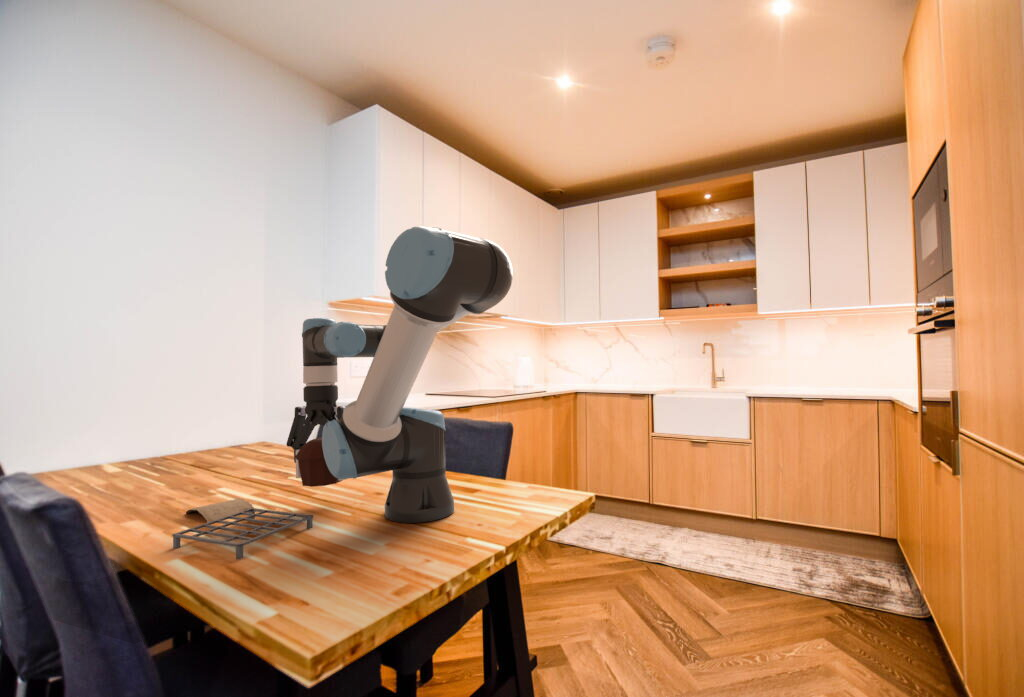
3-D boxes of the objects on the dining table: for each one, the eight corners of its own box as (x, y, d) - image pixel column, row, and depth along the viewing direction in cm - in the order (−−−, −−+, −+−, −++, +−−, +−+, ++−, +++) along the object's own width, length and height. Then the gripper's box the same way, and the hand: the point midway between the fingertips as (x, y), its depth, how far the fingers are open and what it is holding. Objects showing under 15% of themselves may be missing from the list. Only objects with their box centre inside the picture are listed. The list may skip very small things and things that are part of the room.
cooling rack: (313, 527, 99) (313, 515, 99) (239, 559, 83) (239, 545, 83) (252, 519, 105) (252, 508, 105) (172, 548, 89) (172, 534, 89)
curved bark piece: (258, 515, 110) (258, 503, 110) (209, 527, 102) (209, 514, 102) (229, 505, 119) (229, 494, 119) (182, 516, 111) (182, 504, 111)
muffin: (288, 483, 113) (287, 439, 113) (334, 474, 120) (333, 434, 121) (308, 490, 104) (307, 443, 105) (356, 481, 112) (355, 437, 112)
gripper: (373, 382, 112) (375, 477, 111) (294, 385, 121) (295, 472, 120) (351, 384, 106) (353, 484, 104) (269, 386, 114) (270, 479, 113)
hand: (322, 478), depth 112 cm, fingers closed on muffin, 12 cm apart
